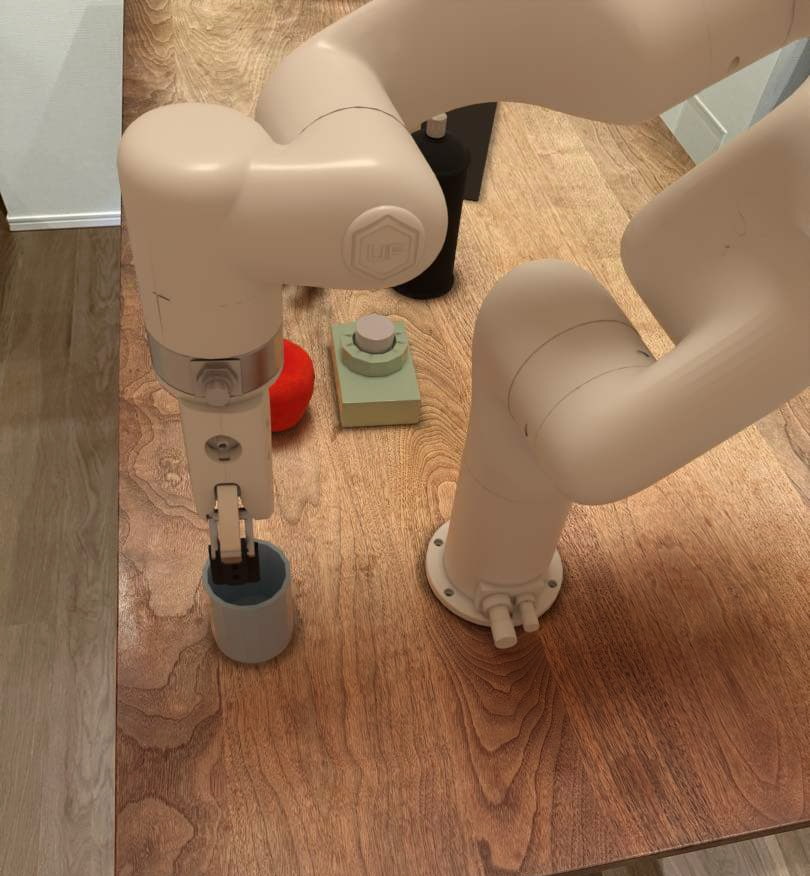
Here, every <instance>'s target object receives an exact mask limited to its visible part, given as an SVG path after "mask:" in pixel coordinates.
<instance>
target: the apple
mask: <svg viewBox="0 0 810 876" xmlns="http://www.w3.org/2000/svg"><path fill="white" fill-rule="evenodd" d="M283 349H284V353H283V354H284V363H283V368H282V372H281V373H280V375H279V377H278V379H277V380H276V381H275V383H274V384H273V385H272V386H271V387H270V388H269V398H270V416H271V432H277V433H278V432H279V433H280V432H283V431H286V430H290V429H291V428H292V427H294V426H295V425H297V424H298V423H299V421H300V420H301V418H302V416H303V415H304V413H305V412H306V410H307V408H308V406H309V404H310V402H311V400H312V398H313V395H314V390H315V382H316V381H315V380H316V374H315V373H316V372H315V367H314V362H313V360H312V358H311V356H310V355H309V353H308V352H307V351H306V350H305V349H304V348H303V347H302V346H300V345H298V344H297V343H295V342H293V341H290V340H288V339H286V338H284V337H283Z"/></svg>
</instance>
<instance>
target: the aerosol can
mask: <svg viewBox="0 0 810 876" xmlns="http://www.w3.org/2000/svg"><path fill="white" fill-rule="evenodd" d="M446 120H447V115H446V114H445V113H442V114H440V115H437V116H435V117H433V118H431V119H429V120H427V129H421V130H417V131H415V132H413V133H411V136H412V138H413V139H414V141H415V143H416V145H417V146H418V148H419V150H420V151H421V153H422V154H423V156H424V158H425V159H426V161H427V163H428V164H429V166H430V168H431V169H432V171H433V173H434V174H435V176H436V178H437V180H438V182H439V185H440V187H441V189H442V192H443V195H444V197H445V202H446V206H447V213H448V226H447V233H446V238H445V241H444V244H443V246H442V249H441V251H440V252H439V254H438V256H437V257H436V259H435V260H434V261H433V263H432V264H431V265H430V266H429V267H428V268H427V269H426V270H424V271H423V272H422V273H421V274H420V275H418V276H416V277H415V278H413V279H411V280H409V281H407V282H405V283H403V284H400V285H397V286H393V287H392V288H393V290H395V291H396V292H398V293H400V294H401V295H404V296H406V297H409V298H414V299H420V300H421V299H423V300H425V299H427V300H428V299H434V298H438V297H441V296H443V295H445V294H447V292H449V291H450V290H451V289H452V287H453V285H454V283H455V274H454V267H455V262H456V255H457V248H458V247H457V246H458V240H459V234H460V228H461V227H460V226H461V219H462V213H463V206H464V205H463V204H464V199H465V198H464V191H465V184H466V177H467V170H468V167H469V166H470V164H471V159H472V157H471V153H470V151H469V150H468V148H467V147H466V146H465V145H464V144H463V143H462V142H461V140H460V139H459V138H458V137H457V136H455V135H454V134H452V133H450V132H447V131H445V128H446Z"/></svg>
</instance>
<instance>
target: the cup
mask: <svg viewBox="0 0 810 876" xmlns="http://www.w3.org/2000/svg"><path fill="white" fill-rule="evenodd" d="M244 538H245V541H246V537H244ZM254 542H258V551H259V566H260V581H258V582H255V583H246V584H244V585H239V586H229V585H226V584H225V585H216V584H214V583H213V580H212V573H211V566H210V559H209V556H207V559H206V560H205V564H204V565H203V567H202V571H201V572H202V573H201V575H202V589H203V593H204V597H205V603H206V608H207V613H208V618H209V623H210V627H211V633H212V637H213V638H214V642H215V644H216V646H217V648H218V649H219V651H221V653H222V654H224V655H225V656H226V657H228V658H229V659H231V660H234V661H236V662H239V663H243V664H260V663H263V662H268V661H270V660H272V659H273V658H276V657H277V656H278V655H280V654H281V653H282V652H283V651H284V650H285V649H286V648H287V647H288V645H289V643H290V642H291V640H292V637H293V634H294V607H293V589H292V587H293V586H292V573H291V572H292V571H291V562H290V561H289V559H288V557H287V555H286V554H285V552H284V551H283V550H282V549H281V548H279V547H278V546H277V545H275V544H273V543H272V542H271V541H269V540H264V539H260V538H257V537H254Z"/></svg>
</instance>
